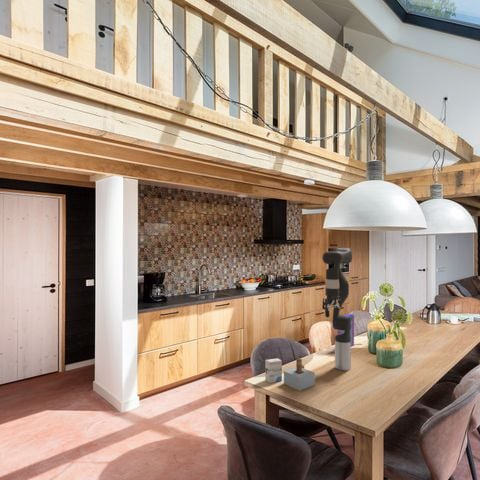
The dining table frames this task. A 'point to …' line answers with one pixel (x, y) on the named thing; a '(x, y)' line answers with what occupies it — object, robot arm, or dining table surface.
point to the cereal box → (350, 330)
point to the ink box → (273, 370)
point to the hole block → (299, 379)
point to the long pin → (299, 366)
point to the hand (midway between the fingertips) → (332, 316)
